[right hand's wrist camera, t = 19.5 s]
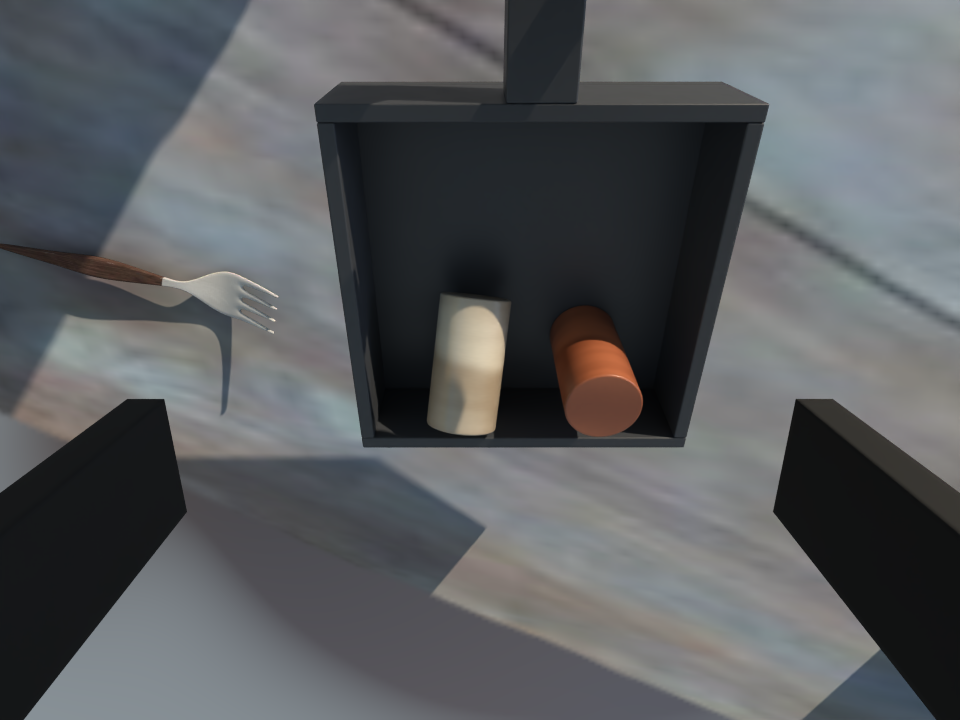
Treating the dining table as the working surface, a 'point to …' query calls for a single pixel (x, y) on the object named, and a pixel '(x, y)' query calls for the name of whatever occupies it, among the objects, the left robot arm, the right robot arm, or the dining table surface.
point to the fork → (162, 281)
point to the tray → (534, 227)
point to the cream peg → (468, 363)
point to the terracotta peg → (594, 373)
